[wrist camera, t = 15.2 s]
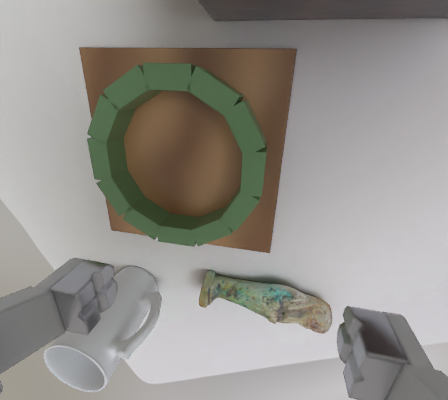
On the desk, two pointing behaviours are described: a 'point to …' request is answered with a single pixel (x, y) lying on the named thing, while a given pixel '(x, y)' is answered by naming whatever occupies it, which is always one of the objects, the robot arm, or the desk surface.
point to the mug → (107, 334)
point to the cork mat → (200, 133)
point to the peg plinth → (323, 9)
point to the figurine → (269, 301)
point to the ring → (117, 164)
